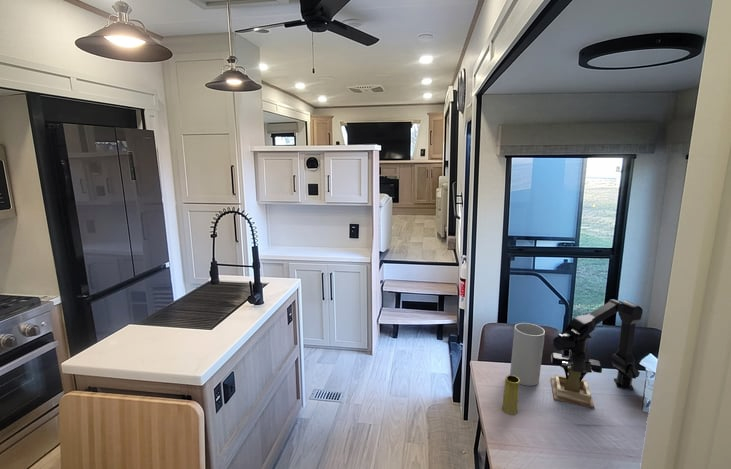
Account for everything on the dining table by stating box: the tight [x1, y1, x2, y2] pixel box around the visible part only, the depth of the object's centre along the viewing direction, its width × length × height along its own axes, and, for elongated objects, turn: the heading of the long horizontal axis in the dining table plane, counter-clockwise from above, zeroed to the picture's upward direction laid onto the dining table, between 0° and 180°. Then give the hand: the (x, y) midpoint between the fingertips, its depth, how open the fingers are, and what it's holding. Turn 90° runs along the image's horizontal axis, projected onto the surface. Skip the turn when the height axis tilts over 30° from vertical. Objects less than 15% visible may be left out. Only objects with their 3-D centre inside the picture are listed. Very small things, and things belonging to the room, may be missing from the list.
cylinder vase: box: [509, 322, 546, 387], centre depth 172 cm, size 12×12×25 cm
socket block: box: [550, 373, 595, 410], centre depth 164 cm, size 16×15×4 cm
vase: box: [501, 374, 520, 416], centre depth 152 cm, size 6×6×14 cm
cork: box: [564, 365, 581, 393], centre depth 163 cm, size 6×6×11 cm
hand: (573, 380), depth 163 cm, fingers closed on cork, 5 cm apart
